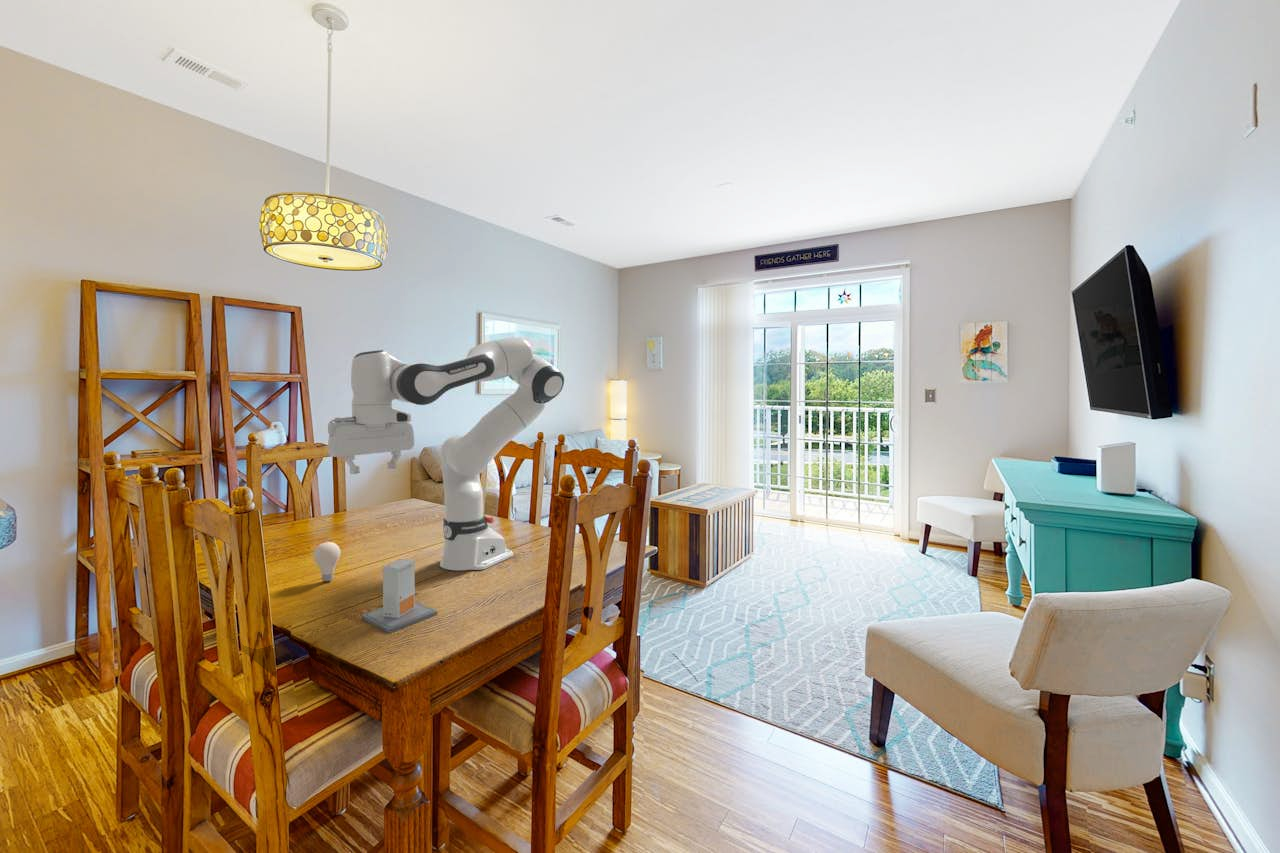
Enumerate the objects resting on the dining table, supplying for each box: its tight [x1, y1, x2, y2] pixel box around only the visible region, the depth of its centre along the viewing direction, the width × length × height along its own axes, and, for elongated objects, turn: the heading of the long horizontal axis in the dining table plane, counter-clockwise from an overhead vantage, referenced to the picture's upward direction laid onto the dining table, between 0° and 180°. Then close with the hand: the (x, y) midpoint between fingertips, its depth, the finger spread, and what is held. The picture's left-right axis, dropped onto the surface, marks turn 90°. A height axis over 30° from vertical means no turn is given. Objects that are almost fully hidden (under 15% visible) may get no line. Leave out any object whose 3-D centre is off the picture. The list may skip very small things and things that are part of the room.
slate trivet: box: [360, 600, 438, 634], centre depth 124 cm, size 12×12×1 cm
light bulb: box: [312, 541, 342, 582], centre depth 144 cm, size 7×7×11 cm
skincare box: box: [382, 558, 416, 619], centre depth 123 cm, size 6×4×12 cm
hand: (374, 471), depth 131 cm, fingers open, 8 cm apart
